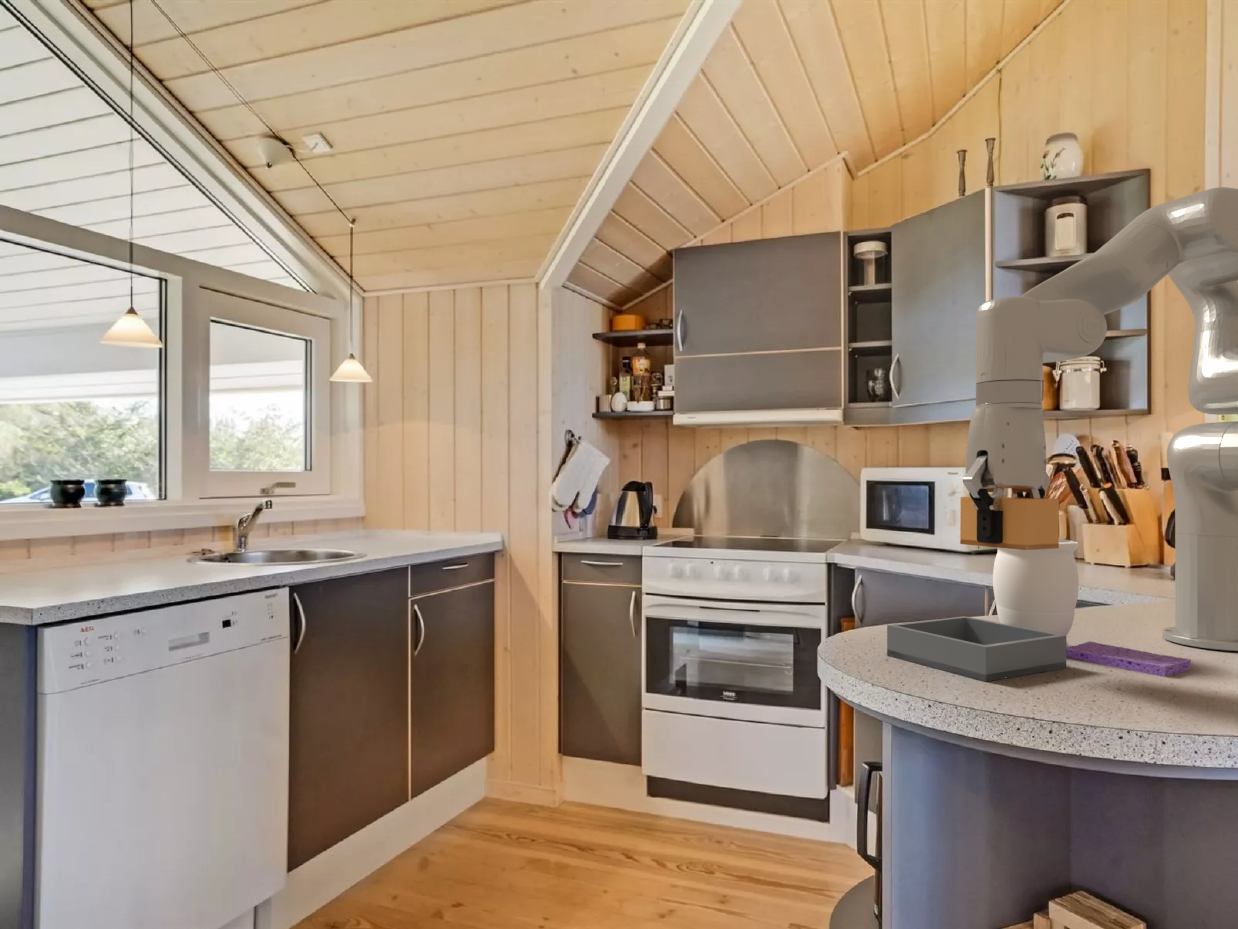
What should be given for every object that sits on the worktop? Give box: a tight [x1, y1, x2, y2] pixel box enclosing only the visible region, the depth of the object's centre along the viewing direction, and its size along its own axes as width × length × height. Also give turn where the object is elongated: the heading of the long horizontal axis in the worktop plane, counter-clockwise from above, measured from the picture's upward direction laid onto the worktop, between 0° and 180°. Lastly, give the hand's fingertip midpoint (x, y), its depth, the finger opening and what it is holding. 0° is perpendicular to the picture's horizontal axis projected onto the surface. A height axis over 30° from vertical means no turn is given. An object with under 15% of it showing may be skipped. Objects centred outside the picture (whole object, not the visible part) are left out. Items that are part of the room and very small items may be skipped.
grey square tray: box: [886, 615, 1067, 682], centre depth 104 cm, size 15×15×4 cm
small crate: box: [959, 496, 1060, 550], centre depth 101 cm, size 6×9×6 cm
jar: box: [992, 538, 1080, 647], centre depth 112 cm, size 11×10×15 cm
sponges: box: [1066, 641, 1192, 678], centre depth 103 cm, size 7×13×2 cm, turn 32°
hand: (1007, 540), depth 101 cm, fingers closed on small crate, 6 cm apart
